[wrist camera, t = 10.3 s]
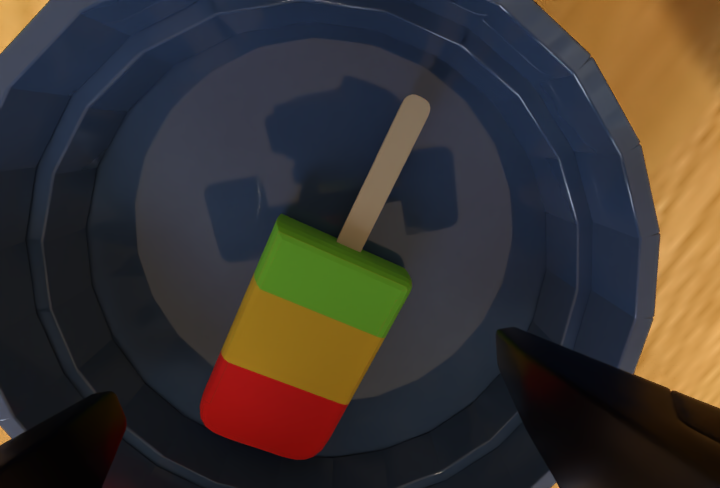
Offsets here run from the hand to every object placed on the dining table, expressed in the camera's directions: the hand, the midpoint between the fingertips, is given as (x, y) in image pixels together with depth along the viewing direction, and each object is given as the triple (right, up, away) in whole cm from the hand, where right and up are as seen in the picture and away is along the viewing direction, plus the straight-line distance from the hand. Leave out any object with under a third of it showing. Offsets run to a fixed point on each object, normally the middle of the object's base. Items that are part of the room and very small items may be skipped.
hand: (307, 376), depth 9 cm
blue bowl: (0, +2, +7) cm, 7 cm away
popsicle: (0, +2, +7) cm, 7 cm away
